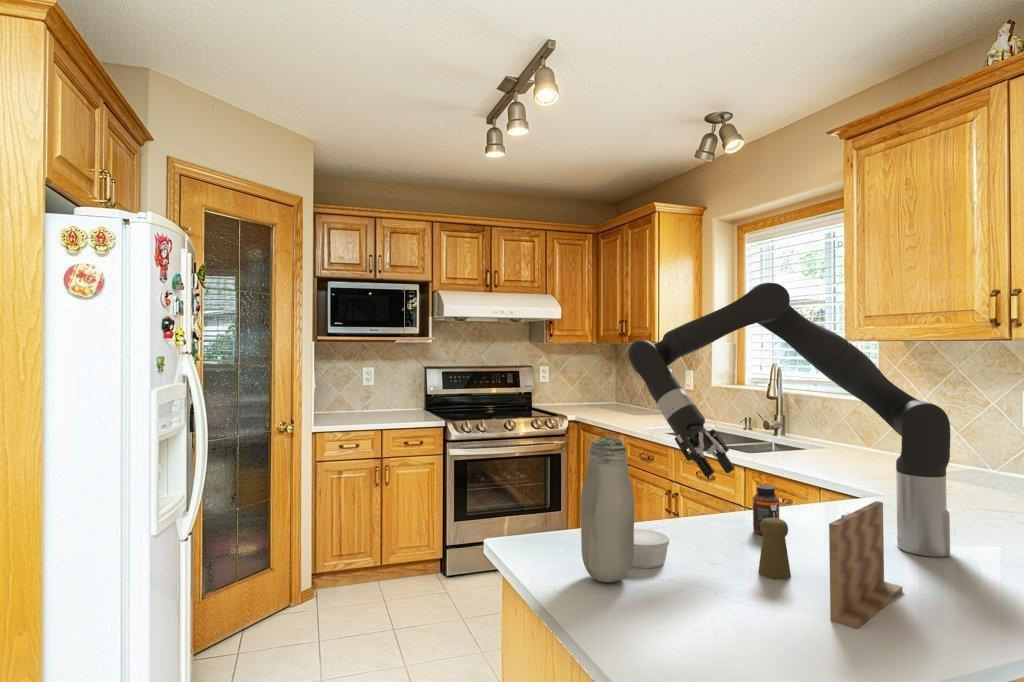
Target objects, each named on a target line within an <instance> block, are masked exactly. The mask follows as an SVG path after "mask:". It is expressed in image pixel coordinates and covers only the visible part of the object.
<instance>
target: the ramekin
mask: <svg viewBox="0 0 1024 682" xmlns="http://www.w3.org/2000/svg"><path fill="white" fill-rule="evenodd" d="M669 545H670V538H669V537H668V536H667V534H665V533H663V532H660V531H656V530H650V529H638V528H637V529H635V528H634V557H633V563H632V566H631V568H632V567H633V568H639V569H653V568H654V569H655V568H658V567H661V566H662V565H663V564H664V563H665V562H666V558H667V552H668V547H669Z"/></svg>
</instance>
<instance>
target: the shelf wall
mask: <svg viewBox="0 0 1024 682" xmlns="http://www.w3.org/2000/svg"><path fill="white" fill-rule="evenodd" d="M849 513H850V514H848V515H846V516H844V517H842V518H841V517H840V518H838V519H835V520H834V521H832V522H830V523H828V534H829V536H828V537H829V539H828V540H829V541H828V542H829V546H828V547H829V594H830V595H829V611H830V612H829V613H830V616H829V617H830V621H833V622H836V623H839V624H842V625H845V626H847V627H851V628H854V629H857V630H858V629H860V628H862V626H863V625H864V624H866V623H867V622H868V621H869V620H871V619H872V618H873V617H874V616H875V615H876V614H877V613H879V612H880V611H882V610H883V609H884V608H885V607H886V606H888V605H889V604H890V603H891V602H892V601H893V600H895V599H896V598H897V597H898V596H899V595H901V594H902V593H903V586H902V585H898V584H894V583H890V582H888V581H885V559H884V558H885V556H884V555H885V550H884V544H885V543H884V539H885V538H884V502H883V501H878V500H877V501H873V502H871V503H870V504H867V505H866V506H863V507H861V508H858V509H857V510H855V511H852V512H849Z"/></svg>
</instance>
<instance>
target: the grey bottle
mask: <svg viewBox="0 0 1024 682" xmlns="http://www.w3.org/2000/svg"><path fill="white" fill-rule="evenodd" d="M592 441H593V442H591V444H590V446H589V448H588V453H587V464H586V466H587V467H586V472H585V476H584V480H583V485H582V489H581V495H580V535H581V536H580V539H581V541H580V542H581V546H580V547H581V557H582V562H583V565H584V568H585V570H586V572H587V574H588V575H589V576H590V577H591V578H593V579H595V580H597V581H599V582H602V583H610V584H611V583H616V582H617V581H620V580H622V579H624V578H625V577H626V576H627V575H628V574H629V572H630V571H631V569H632V563H633V557H634V529H635V499H634V498H635V497H634V492H633V488H632V483H631V479H630V474H629V469H628V461H627V460H628V457H627V456H628V455H627V449H626V447H625V445H624V443H623V442H622V441H621V440H620V439H619V438H617V437H614V436H602V437H598V438H596V439H595V440H592Z"/></svg>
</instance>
